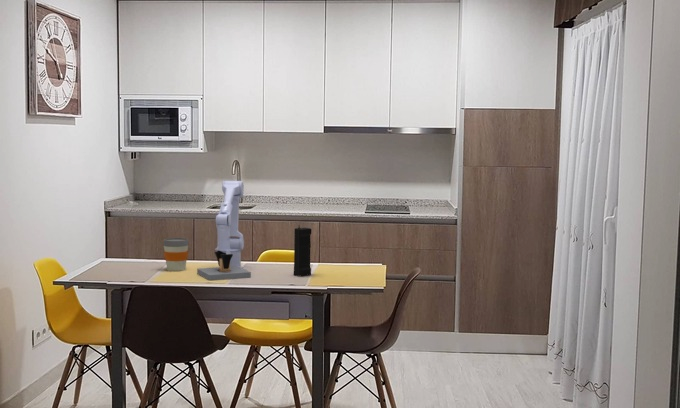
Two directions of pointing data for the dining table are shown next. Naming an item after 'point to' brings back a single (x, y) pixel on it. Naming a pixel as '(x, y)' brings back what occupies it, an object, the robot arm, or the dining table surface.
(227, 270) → the plug
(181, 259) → the reusable coffee cup
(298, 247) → the portable radio
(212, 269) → the socket plate
